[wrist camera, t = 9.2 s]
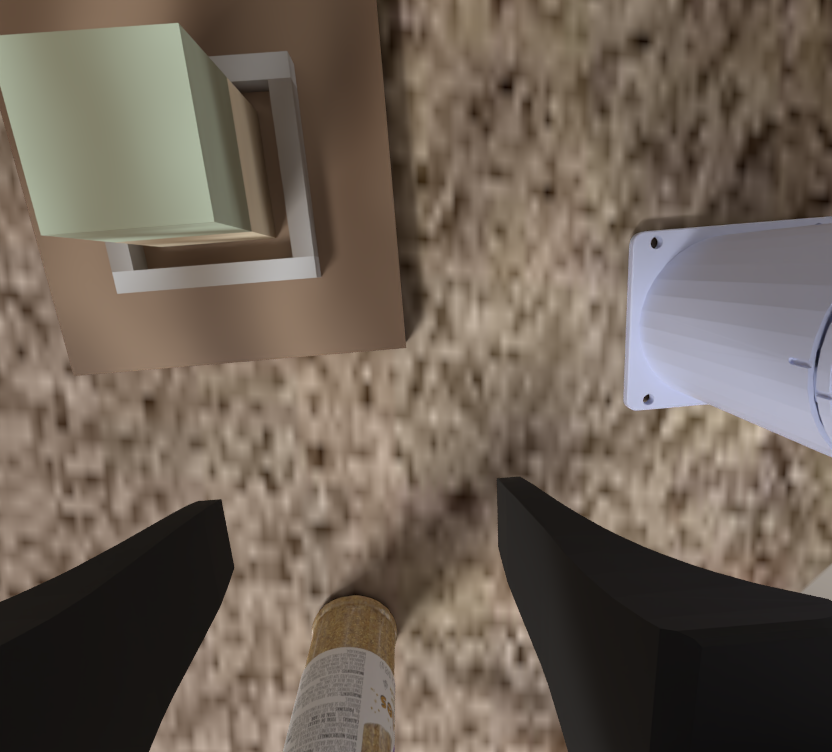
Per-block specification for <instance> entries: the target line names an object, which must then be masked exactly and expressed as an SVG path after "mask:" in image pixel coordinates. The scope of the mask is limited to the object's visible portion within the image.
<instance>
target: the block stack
mask: <svg viewBox="0 0 832 752" xmlns="http://www.w3.org/2000/svg"><path fill="white" fill-rule="evenodd" d="M0 87H1V91H2V94H3V98H4V102H5V105H6V109H7V113H8V116H9V120H10V124H11V127H12V131H13V135H14V138H15V142H16V145H17V149H18V153H19V156H20V160H21V164H22V167H23V171H24V175H25V178H26V182H27V186H28V189H29V193H30V197H31V200H32V204H33V208H34V211H35V215H36V219H37V222H38V226H39V230H40V233H41V235H43V236H53V237H63V238H74V239H84V240H94V241H105V242H115V243H125V244H136V245H146V246H156V247H170V246H182V245H195V244H208V243H220V242H233V241H245V240H258V239H271V238H276V232H275V225H274V218H273V212H272V205H271V198H270V191H269V185H268V178H267V171H266V165H265V158H264V151H263V145H262V138H261V131H260V124H259V118H258V112H257V111H256V110H255V108H254V107H253V106H252V105H251V104H250V103H249V102H248V101H247V99H246V98H245V97H244V96H243V95H242V94H241V93H240V92H239V90H238V89H237V88H236V87H235V86H234V85H233V84H232V83H231V81H230V80H229V79H228V78H227V77H226V76H225V75H224V74H223V72H222V71H221V70H220V69H219V68H218V67H217V66H216V65H215V63H214V62H213V61H212V60H211V59H210V58H209V57H208V56H207V54H206V53H205V52H204V51H203V50H202V49H201V48H200V47H199V45H198V44H197V43H196V42H195V41H194V40H193V39H192V38H191V36H190V35H189V34H188V33H187V32H186V31H185V30H184V29H183V27H182V26H181V25H180V24H179V23H170V24H155V25H141V26H127V27H112V28H98V29H83V30H69V31H54V32H40V33H25V34H11V35H0Z"/></svg>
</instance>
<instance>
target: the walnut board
mask: <svg viewBox="0 0 832 752" xmlns="http://www.w3.org/2000/svg"><path fill="white" fill-rule="evenodd" d="M170 23H179V24H180V25H181V26H182V27H183V29H184V30H185V31H186V32H187V33H188V34H189V35H190V36H191V38H192V39H193V40H194V41H195V42H196V43H197V44H198V45H199V47H200V48H201V49H202V50H203V51H204V52H205V53H206V54H207V56H208V57H209V58H210V59H211V60H212V61H213V62H214V63H215V65H216V66H217V67H218V68H219V69H220V70H221V71H222V72H223V74H224V75H225V76H226V77H227V78H228V79H229V80H230V81H231V83H232V84H233V85H234V86H235V87H236V88H237V89H238V90H239V92H240V93H241V94H242V95H243V96H244V97H245V98H246V99H247V101H248V102H249V103H250V104H251V105H252V106H253V107H254V108H255V110H256V111H257V112H258V118H259V124H260V131H261V138H262V145H263V151H264V158H265V165H266V171H267V178H268V185H269V191H270V198H271V205H272V212H273V218H274V225H275V232H276V238H271V239H258V240H245V241H233V242H220V243H208V244H195V245H182V246H170V247H156V246H146V245H136V244H125V243H115V242H105V241H94V240H84V239H74V238H63V237H53V236H43V235H41V233H40V230H39V226H38V222H37V219H36V215H35V211H34V208H33V204H32V200H31V197H30V193H29V189H28V186H27V182H26V178H25V175H24V171H23V167H22V164H21V160H20V156H19V153H18V149H17V145H16V142H15V138H14V135H13V131H12V127H11V124H10V120H9V116H8V113H7V109H6V105H5V102H4V98H3V94H2V91H1V87H0V111H1V114H2V118H3V122H4V125H5V129H6V132H7V136H8V140H9V143H10V147H11V150H12V154H13V158H14V161H15V165H16V169H17V172H18V176H19V179H20V183H21V187H22V190H23V194H24V197H25V201H26V205H27V208H28V212H29V216H30V219H31V223H32V226H33V230H34V234H35V237H36V241H37V245H38V248H39V252H40V255H41V259H42V263H43V266H44V270H45V273H46V277H47V281H48V284H49V288H50V292H51V295H52V299H53V302H54V306H55V310H56V313H57V317H58V320H59V324H60V328H61V331H62V335H63V339H64V342H65V346H66V349H67V353H68V357H69V360H70V364H71V367H72V371H73V375H74V376H80V375H92V374H103V373H115V372H127V371H139V370H151V369H162V368H174V367H186V366H198V365H209V364H221V363H233V362H245V361H257V360H268V359H280V358H292V357H304V356H315V355H327V354H339V353H351V352H363V351H374V350H386V349H398V348H406V340H405V328H404V316H403V304H402V293H401V281H400V269H399V258H398V246H397V234H396V223H395V211H394V199H393V188H392V176H391V164H390V152H389V141H388V129H387V117H386V106H385V94H384V82H383V71H382V59H381V47H380V35H379V24H378V12H377V0H0V35H11V34H25V33H40V32H54V31H69V30H83V29H98V28H112V27H127V26H141V25H155V24H170Z"/></svg>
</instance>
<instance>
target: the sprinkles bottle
mask: <svg viewBox="0 0 832 752" xmlns="http://www.w3.org/2000/svg"><path fill="white" fill-rule="evenodd" d="M396 640H397V627H396V622H395V620H394V618H393V616H392V614H391V613H390V611H389V610H388V608H387V607H385V606H383V605H382V604H381V603H380V602H378V601H377V600H375V599H372V598H369V597H366V596H359V595H352V596H347V597H341V598H338V599H335V600H333V601H331V602H329V603H328V604H326V605H325V606H324V607H323V608H322V609H321V610H320V611H319V613H318V614H317V616H316V618H315V620H314V622H313V626H312V642H311V646H310V650H309V654H308V658H307V662H306V667H305V669H304V671H303V674H302V677H301V681H300V685H299V689H298V693H297V697H296V701H295V705H294V709H293V713H292V716H291V720H290V725H289V729H288V733H287V737H286V741H285V745H284V749H283V752H394V742H395V680H394V649H395V644H396Z"/></svg>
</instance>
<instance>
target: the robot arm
mask: <svg viewBox="0 0 832 752" xmlns="http://www.w3.org/2000/svg"><path fill="white" fill-rule="evenodd" d="M654 237H655V238H656V239H657V242H658V243H657V246H656V247H655V248H654V249H653V248H652V247H651V240H652V239H653V238H654ZM648 394H649V400H648V401H647V402H644V403H643V398H644V397H645V396H646V395H648ZM624 404H625V405H626V406H627V407H628V408H630V409H632V410H648V409H659V408H671V407H682V406H693V405H704V404H709V405H712V406H714V407H716V408H719V409H721V410H723V411H726V412H728V413H730V414H733V415H735V416H737V417H740V418H742V419H744V420H747V421H749V422H751V423H753V424H756V425H758V426H760V427H763V428H765V429H767V430H770V431H772V432H774V433H777V434H779V435H781V436H784V437H786V438H788V439H790V440H793V441H795V442H797V443H800V444H802V445H804V446H807V447H809V448H811V449H814V450H816V451H818V452H821V453H823V454H825V455H828V456H830V457H832V216H829V217H816V218H804V219H791V220H779V221H767V222H754V223H742V224H729V225H717V226H704V227H692V228H680V229H667V230H655V231H644V232H639V233H636V234H635V235H634V236H633V237H632V238H631V240H630V244H629V267H628V293H627V320H626V346H625V373H624ZM497 506H498V547H499V551H500V555H501V559H502V563H503V567H504V571H505V574H506V578H507V582H508V584H509V587H510V589H511V592H512V594H513V597H514V599H515V602H516V604H517V607H518V609H519V612H520V614H521V617H522V619H523V622H524V624H525V627H526V629H527V631H528V634H529V636H530V639H531V641H532V644H533V646H534V649H535V651H536V654H537V656H538V658H539V661H540V663H541V666H542V669H543V672H544V674H545V677H546V680H547V683H548V686H549V689H550V692H551V695H552V699H553V702H554V705H555V709H556V712H557V715H558V719H559V722H560V725H561V729H562V732H563V735H564V739H565V742H566V746H567V749H568V752H832V601H831V600H829V599H825V598H821V597H816V596H811V595H806V594H802V593H797V592H793V591H788V590H784V589H779V588H774V587H770V586H765V585H760V584H756V583H752V582H749V581H745V580H742V579H738V578H734V577H731V576H727V575H724V574H720V573H716V572H713V571H710V570H707V569H704V568H700V567H697V566H694V565H691V564H688V563H685V562H683V561H680V560H677V559H674V558H672V557H669V556H666V555H663V554H661V553H658V552H656V551H653V550H651V549H648V548H646V547H643V546H641V545H639V544H637V543H634V542H632V541H630V540H628V539H625V538H623V537H621V536H619V535H617V534H615V533H613V532H611V531H609V530H607V529H605V528H603V527H601V526H599V525H597V524H596V523H594V522H592V521H590V520H588V519H587V518H585V517H583V516H581V515H580V514H578V513H576V512H575V511H573V510H571V509H570V508H568V507H566V506H565V505H563V504H562V503H560V502H559V501H557V500H556V499H554V498H552V497H551V496H549V495H548V494H546V493H545V492H543V491H542V490H540V489H539V488H537V487H536V486H534V485H533V484H531V483H530V482H528V481H527V480H525V479H523V478H521V477H510V478H497ZM233 570H234V563H233V558H232V553H231V548H230V542H229V537H228V532H227V527H226V521H225V516H224V511H223V506H222V500H221V499H220V500H207V501H197V502H195V503H192V504H190V505H188V506H186V507H184V508H182V509H180V510H178V511H176V512H174V513H172V514H171V515H169V516H167V517H165V518H164V519H162V520H160V521H158V522H157V523H155V524H153V525H151V526H150V527H148V528H146V529H144V530H143V531H141V532H139V533H137V534H136V535H134V536H132V537H130V538H129V539H127V540H125V541H123V542H121V543H120V544H118V545H116V546H114V547H112V548H110V549H109V550H107V551H105V552H103V553H101V554H99V555H97V556H96V557H94V558H92V559H90V560H88V561H86V562H84V563H82V564H81V565H79V566H77V567H75V568H73V569H71V570H69V571H67V572H65V573H63V574H61V575H59V576H57V577H55V578H53V579H51V580H48V581H46V582H44V583H42V584H40V585H38V586H35V587H33V588H31V589H29V590H27V591H24V592H22V593H20V594H18V595H15V596H13V597H11V598H9V599H6V600H4V601H1V602H0V752H149V750H150V748H151V745H152V743H153V740H154V738H155V736H156V733H157V731H158V728H159V726H160V724H161V721H162V719H163V717H164V715H165V713H166V710H167V708H168V706H169V704H170V702H171V700H172V698H173V696H174V694H175V692H176V690H177V688H178V686H179V684H180V683H181V681H182V679H183V677H184V675H185V673H186V671H187V669H188V667H189V666H190V664H191V662H192V660H193V658H194V656H195V654H196V652H197V650H198V648H199V647H200V645H201V643H202V641H203V639H204V637H205V635H206V633H207V631H208V629H209V627H210V626H211V624H212V622H213V620H214V618H215V616H216V614H217V612H218V610H219V608H220V606H221V603H222V601H223V598H224V596H225V593H226V590H227V588H228V585H229V582H230V579H231V576H232V573H233Z"/></svg>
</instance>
